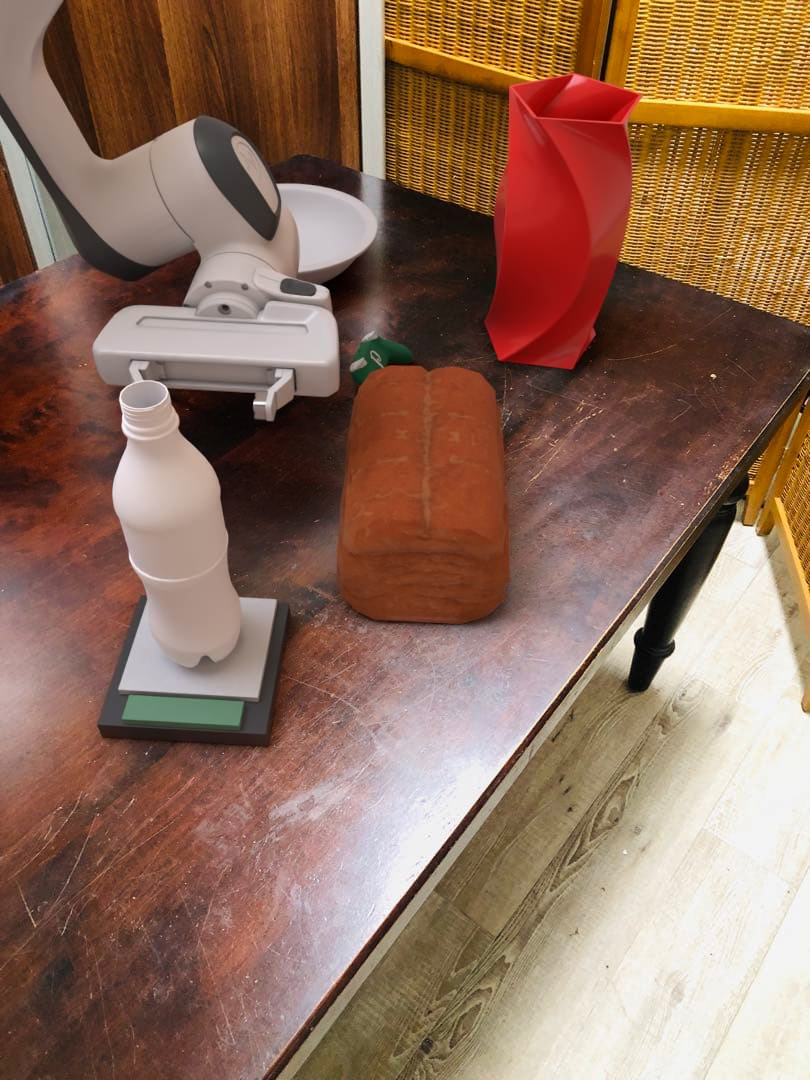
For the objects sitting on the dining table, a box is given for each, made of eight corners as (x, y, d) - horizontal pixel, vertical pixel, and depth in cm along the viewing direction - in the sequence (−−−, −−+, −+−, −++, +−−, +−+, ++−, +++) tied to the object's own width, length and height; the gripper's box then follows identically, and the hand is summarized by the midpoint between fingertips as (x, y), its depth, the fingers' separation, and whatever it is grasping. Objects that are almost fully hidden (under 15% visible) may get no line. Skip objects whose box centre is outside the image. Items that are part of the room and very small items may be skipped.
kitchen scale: (101, 737, 69) (94, 719, 67) (144, 607, 78) (138, 589, 76) (267, 746, 68) (265, 729, 67) (291, 616, 77) (289, 597, 76)
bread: (495, 432, 96) (506, 350, 88) (509, 627, 77) (524, 544, 69) (352, 427, 96) (351, 344, 88) (332, 621, 77) (328, 537, 69)
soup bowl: (158, 279, 115) (149, 232, 111) (278, 212, 129) (274, 167, 125) (300, 342, 106) (297, 293, 102) (412, 262, 120) (414, 216, 115)
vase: (466, 354, 106) (488, 111, 85) (492, 294, 115) (518, 63, 95) (592, 378, 103) (645, 133, 83) (608, 314, 113) (659, 81, 92)
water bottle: (142, 632, 73) (65, 385, 54) (219, 594, 76) (171, 348, 57) (181, 692, 69) (112, 447, 51) (261, 649, 72) (223, 404, 54)
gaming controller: (394, 369, 106) (359, 334, 104) (417, 353, 104) (381, 317, 101) (377, 416, 100) (340, 380, 97) (401, 400, 98) (363, 363, 95)
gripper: (111, 275, 76) (59, 370, 66) (347, 288, 76) (329, 384, 66) (125, 338, 81) (79, 434, 71) (348, 350, 80) (332, 449, 71)
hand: (202, 410), depth 69 cm, fingers open, 8 cm apart
